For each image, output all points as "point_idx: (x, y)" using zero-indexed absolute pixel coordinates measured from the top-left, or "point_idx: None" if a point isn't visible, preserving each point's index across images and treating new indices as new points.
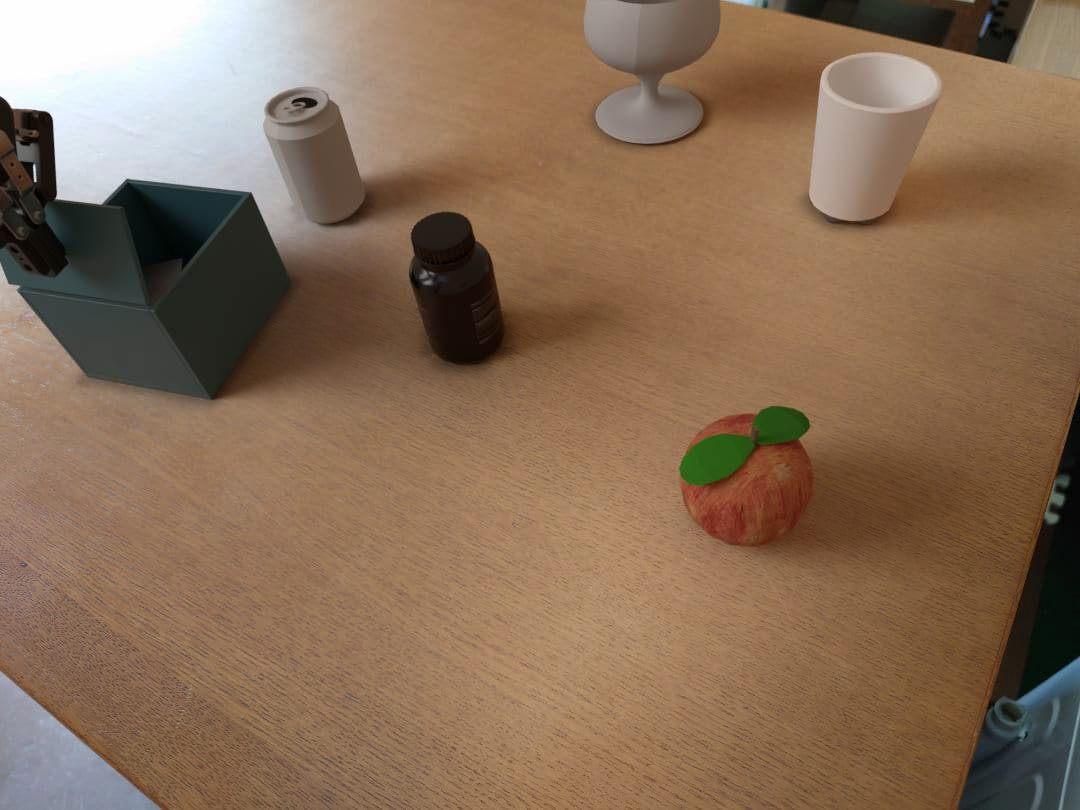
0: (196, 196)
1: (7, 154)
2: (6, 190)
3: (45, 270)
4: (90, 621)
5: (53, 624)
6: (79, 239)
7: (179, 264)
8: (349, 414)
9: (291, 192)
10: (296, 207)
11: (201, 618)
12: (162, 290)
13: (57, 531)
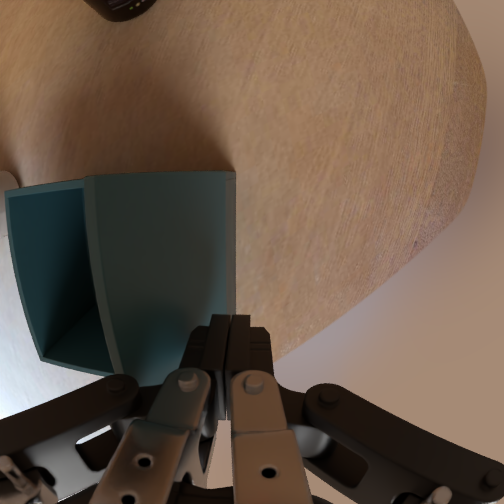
0: (24, 269)
1: None
2: (192, 467)
3: (256, 330)
4: (442, 166)
5: (446, 192)
6: (170, 306)
7: None
8: (226, 38)
9: (2, 222)
10: None
11: (423, 88)
12: None
13: (390, 236)
